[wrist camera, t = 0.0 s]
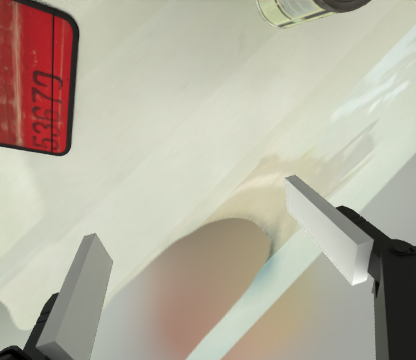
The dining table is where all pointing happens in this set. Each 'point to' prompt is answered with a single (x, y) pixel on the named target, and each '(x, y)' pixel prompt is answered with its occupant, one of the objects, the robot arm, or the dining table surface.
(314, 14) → the coffee can
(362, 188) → the dining table surface
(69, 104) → the binder
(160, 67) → the dining table surface
